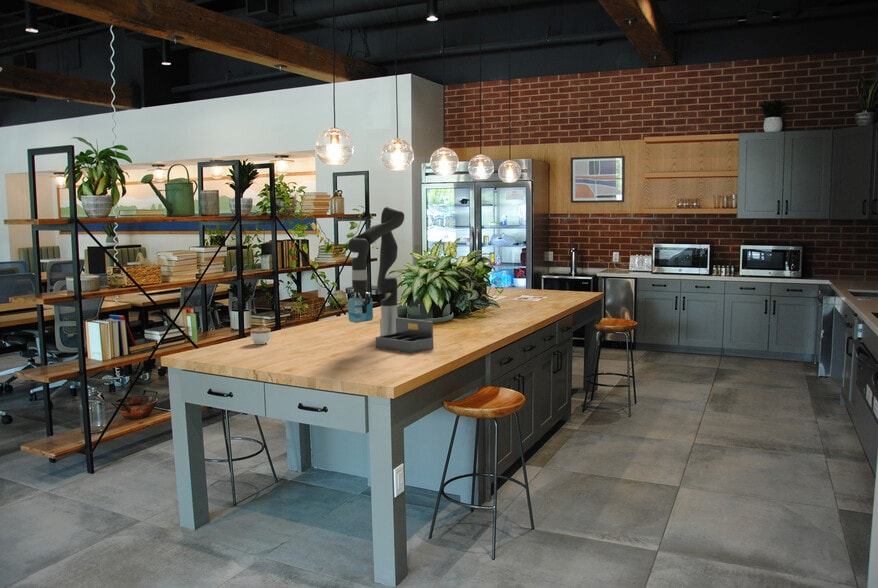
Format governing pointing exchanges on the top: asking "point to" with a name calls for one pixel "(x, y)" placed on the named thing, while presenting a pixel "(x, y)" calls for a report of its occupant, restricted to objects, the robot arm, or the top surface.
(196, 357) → the top surface
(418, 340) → the rack
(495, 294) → the top surface
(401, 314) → the tea set
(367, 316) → the blue flat rounded slab
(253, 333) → the lidded jar
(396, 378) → the top surface
